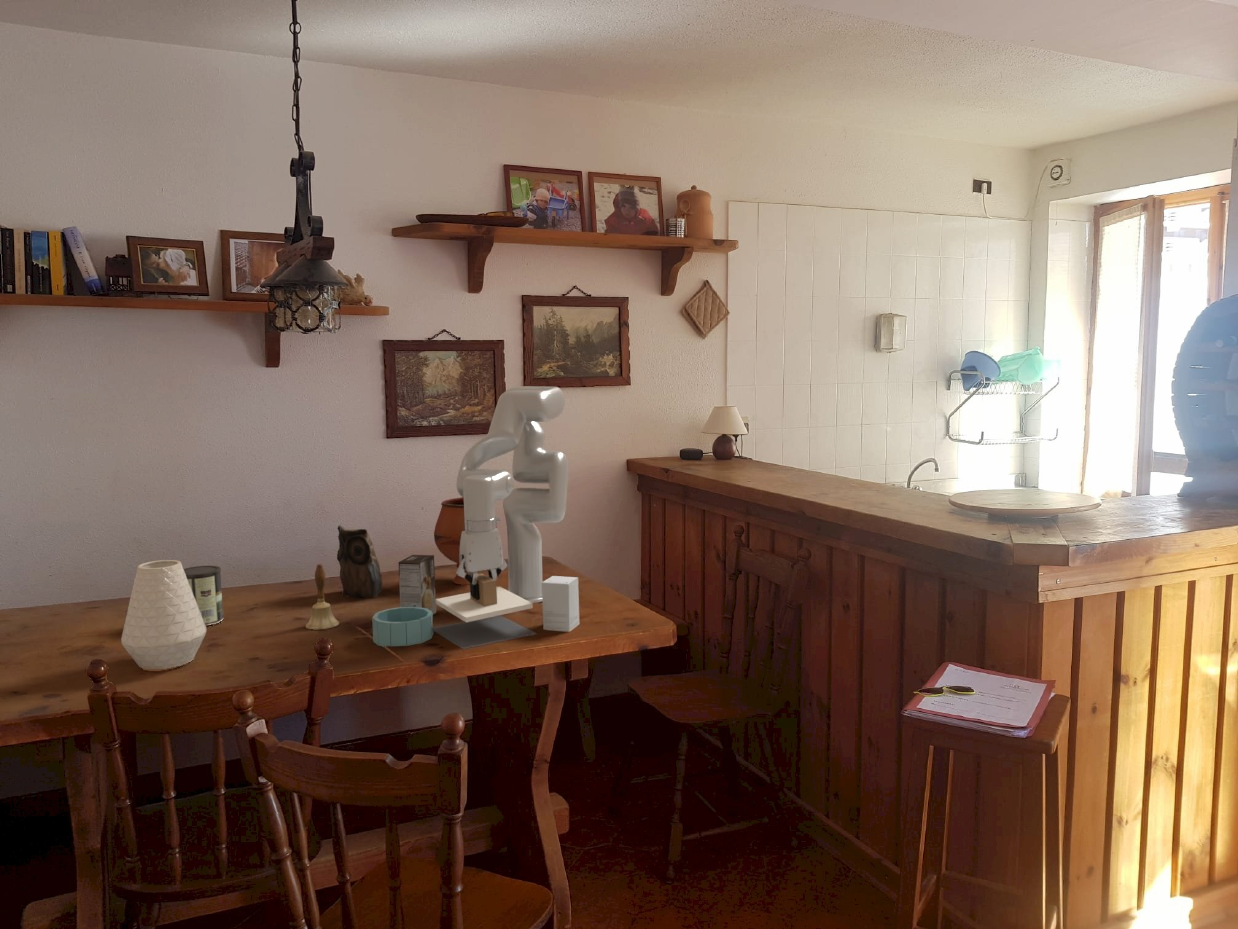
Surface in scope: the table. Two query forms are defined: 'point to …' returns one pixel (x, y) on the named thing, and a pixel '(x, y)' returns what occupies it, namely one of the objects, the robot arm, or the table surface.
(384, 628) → the bowl
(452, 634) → the mat
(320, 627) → the hand bell
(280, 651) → the table surface
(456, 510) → the goblet
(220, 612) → the coffee can
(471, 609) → the lid
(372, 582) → the owl
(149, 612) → the vase
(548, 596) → the supplement box
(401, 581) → the coffee box
